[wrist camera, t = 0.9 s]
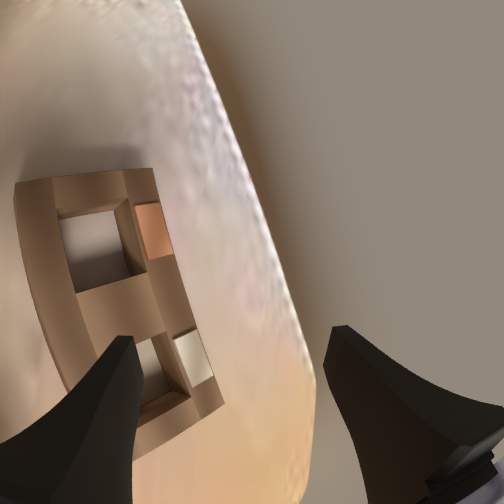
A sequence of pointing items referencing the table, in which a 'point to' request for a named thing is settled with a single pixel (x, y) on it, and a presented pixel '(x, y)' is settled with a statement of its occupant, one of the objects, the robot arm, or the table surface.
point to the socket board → (116, 294)
